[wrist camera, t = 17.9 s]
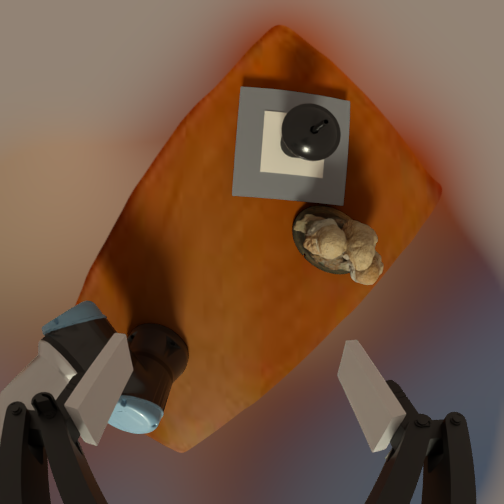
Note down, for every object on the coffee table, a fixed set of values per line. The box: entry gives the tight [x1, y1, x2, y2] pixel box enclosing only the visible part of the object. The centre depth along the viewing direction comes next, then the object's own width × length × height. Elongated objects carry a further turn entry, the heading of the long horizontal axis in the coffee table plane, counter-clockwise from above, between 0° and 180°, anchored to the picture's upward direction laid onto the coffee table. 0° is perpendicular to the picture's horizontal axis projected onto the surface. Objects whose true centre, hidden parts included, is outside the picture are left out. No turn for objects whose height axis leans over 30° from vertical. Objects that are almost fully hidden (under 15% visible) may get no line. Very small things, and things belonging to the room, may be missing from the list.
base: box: [232, 87, 350, 206], centre depth 46 cm, size 20×20×3 cm
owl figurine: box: [292, 206, 383, 285], centre depth 44 cm, size 18×12×17 cm, turn 61°
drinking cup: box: [280, 103, 341, 161], centre depth 34 cm, size 8×8×20 cm
